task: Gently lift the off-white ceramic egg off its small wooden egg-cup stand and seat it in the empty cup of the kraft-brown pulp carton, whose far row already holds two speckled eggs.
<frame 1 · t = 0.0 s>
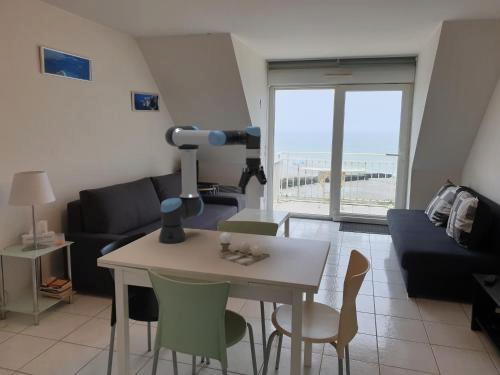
hand: (253, 198, 204), 28 cm above the table, fingers open, 13 cm apart
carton: (244, 258, 197), on the table
egg: (225, 243, 206), point 4 cm above the table, touching egg stand
brown egg a: (256, 256, 198), resting on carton
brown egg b: (243, 253, 203), resting on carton
egg stand: (225, 251, 207), on the table
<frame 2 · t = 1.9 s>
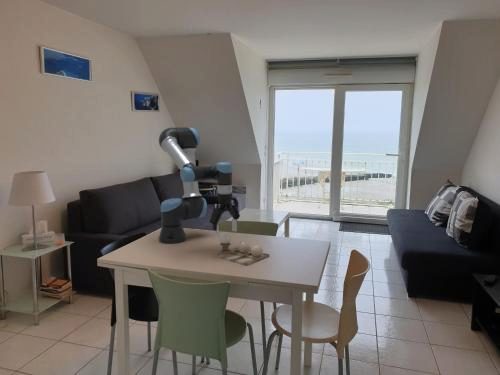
hand: (225, 233, 205), 10 cm above the table, fingers open, 13 cm apart
nothing on the table moved.
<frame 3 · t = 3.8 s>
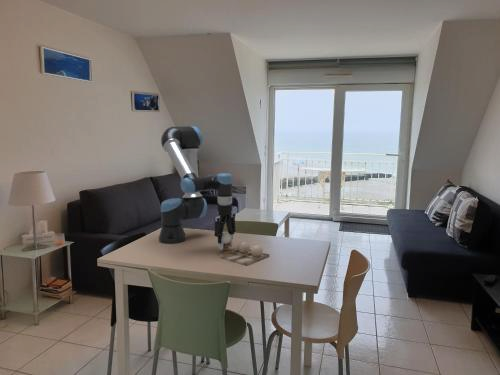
hand: (225, 247, 207), 2 cm above the table, fingers closed on egg, 6 cm apart
egg: (225, 243, 206), point 4 cm above the table, touching egg stand, gripper
everything else where it was.
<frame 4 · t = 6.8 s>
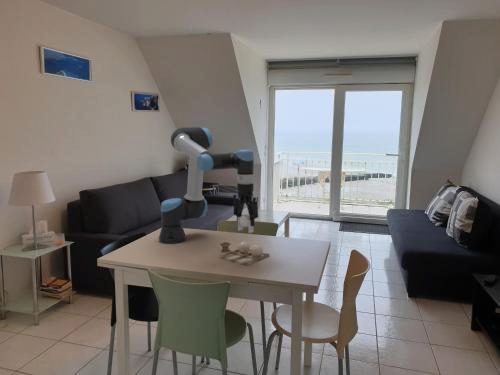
hand: (245, 231, 189), 15 cm above the table, fingers closed on egg, 6 cm apart
egg: (245, 226, 189), point 17 cm above the table, touching gripper
everything else where it was.
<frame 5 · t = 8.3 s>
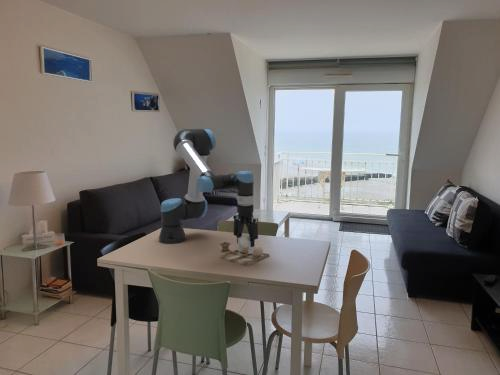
hand: (245, 251, 190), 5 cm above the table, fingers closed on egg, 6 cm apart
egg: (245, 247, 190), point 7 cm above the table, touching gripper
everything else where it was.
when the fingers open (2 cm above the table, at t = 9.8 s): egg drops 4 cm, resting on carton.
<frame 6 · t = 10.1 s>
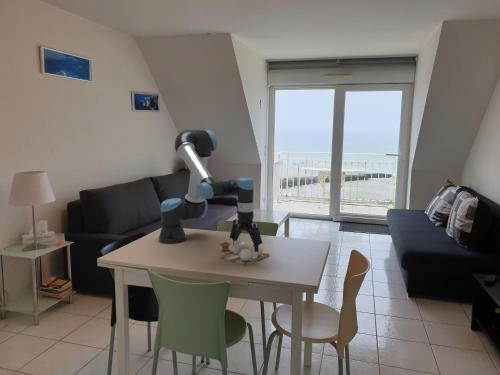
hand: (245, 255, 191), 3 cm above the table, fingers open, 11 cm apart
egg: (245, 261, 191), resting on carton
everything else where it was.
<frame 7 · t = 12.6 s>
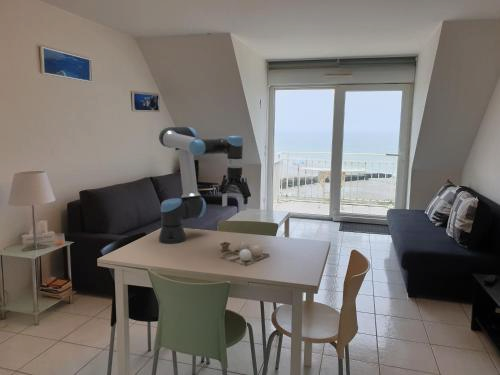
hand: (234, 208, 203), 23 cm above the table, fingers open, 13 cm apart
nothing on the table moved.
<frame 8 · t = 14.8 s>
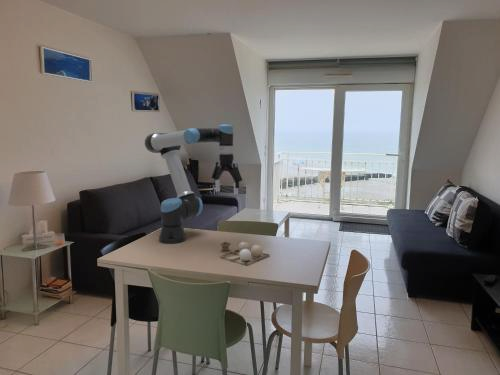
hand: (226, 192, 216), 29 cm above the table, fingers open, 13 cm apart
nothing on the table moved.
at the end: egg 0.1 cm from the target spot on the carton, point 0.5 cm above the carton's base; the gripper is holding nothing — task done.
